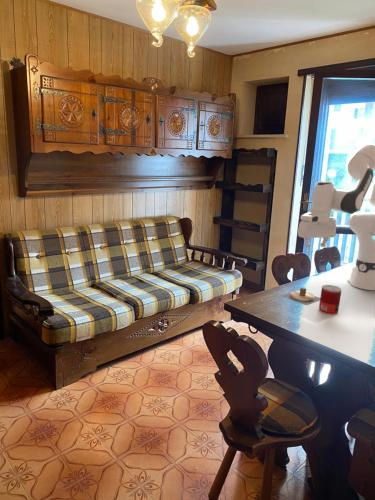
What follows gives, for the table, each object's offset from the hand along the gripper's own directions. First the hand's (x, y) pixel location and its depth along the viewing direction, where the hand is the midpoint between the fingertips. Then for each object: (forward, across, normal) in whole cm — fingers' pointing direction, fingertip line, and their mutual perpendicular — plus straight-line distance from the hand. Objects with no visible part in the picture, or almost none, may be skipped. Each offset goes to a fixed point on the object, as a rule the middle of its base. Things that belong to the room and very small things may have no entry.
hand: (315, 246), depth 178 cm
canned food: (+26, +2, +15) cm, 30 cm away
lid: (+25, +2, -1) cm, 25 cm away
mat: (+25, +2, -1) cm, 25 cm away
